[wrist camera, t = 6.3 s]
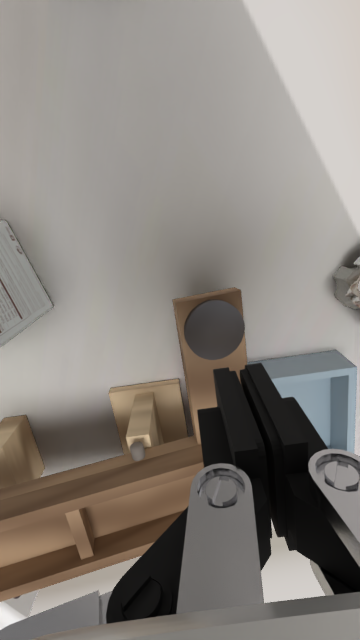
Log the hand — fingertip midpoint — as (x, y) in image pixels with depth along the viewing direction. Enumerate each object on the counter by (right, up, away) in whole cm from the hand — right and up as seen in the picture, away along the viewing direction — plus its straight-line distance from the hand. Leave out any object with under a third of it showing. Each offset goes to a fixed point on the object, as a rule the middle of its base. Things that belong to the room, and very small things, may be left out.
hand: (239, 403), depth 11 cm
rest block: (-16, -9, +18) cm, 26 cm away
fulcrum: (-5, -7, +18) cm, 19 cm away
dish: (+7, -5, +18) cm, 20 cm away
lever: (-8, -5, +10) cm, 13 cm away
